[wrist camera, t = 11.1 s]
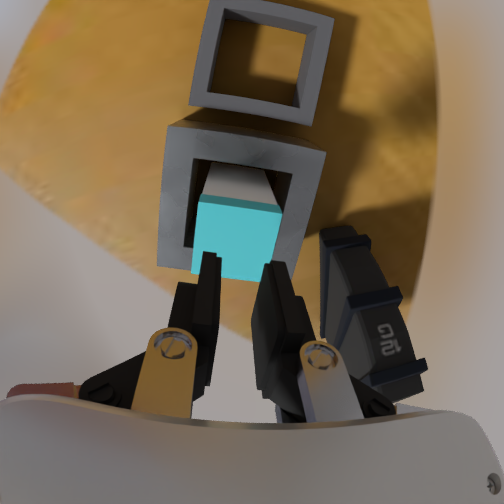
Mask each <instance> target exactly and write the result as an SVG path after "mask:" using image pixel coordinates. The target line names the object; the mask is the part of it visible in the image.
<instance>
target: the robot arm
mask: <svg viewBox="0 0 504 504" xmlns="http://www.w3.org/2000/svg"><path fill="white" fill-rule="evenodd" d="M221 271H222V257H217V253H215V252H207V251H203V254H202V260H201V266H200V272H199V279H198V284H192V283H185V282H178V285H177V289H176V293H175V297H174V302H173V306H172V310H171V315H170V319H169V324H168V328H164V329H161V330H159V331H156V332H155V333H154V334H153V335H152V336H151V338H150V340H149V343H148V346H147V350H146V351H145V352H143V353H141V354H139V355H137V356H135V357H133V358H131V359H129V360H127V361H125V362H123V363H121V364H119V365H116V366H114V367H112V368H110V369H108V370H106V371H104V372H101V373H99V374H97V375H95V376H93V377H91V378H89V379H88V380H86V381H85V382H84V383H83V384H82V385H74V383H73V382H68V383H42V384H19V385H16V386H14V387H13V388H11V389H10V391H9V392H8V394H7V397H6V399H4V400H1V401H0V504H504V473H503V470H502V468H501V465H500V463H499V461H498V458H497V456H496V454H495V451H494V449H493V447H492V445H491V443H490V441H489V440H488V438H487V436H486V434H485V432H484V431H483V429H482V428H481V426H480V425H479V424H478V422H477V421H476V420H475V419H473V418H472V417H470V416H468V415H465V414H463V413H459V412H454V411H446V410H431V409H425V408H420V407H415V406H409V405H404V404H400V403H396V404H395V405H393V404H392V402H391V401H390V400H389V399H388V398H386V397H385V396H383V395H382V394H380V393H379V392H377V391H375V390H374V389H372V388H371V387H369V386H367V385H366V384H364V383H363V382H361V381H359V380H358V379H356V378H355V377H353V376H352V375H350V374H348V372H347V369H346V367H345V364H344V361H343V359H342V356H341V354H340V353H339V351H338V350H337V349H336V348H335V347H333V346H332V345H330V344H328V343H325V342H322V341H316V338H315V335H314V332H313V328H312V325H311V322H310V318H309V315H308V312H307V309H306V306H305V302H304V299H303V297H302V296H295V293H294V290H293V286H292V283H291V279H290V276H289V272H288V269H287V266H286V263H285V262H283V261H276V260H271V261H270V263H265V264H264V268H263V272H262V276H261V280H260V284H259V288H258V292H257V297H256V301H255V305H254V309H253V313H252V318H251V328H252V340H253V351H254V363H255V374H256V385H257V389H258V390H262V396H263V398H264V399H270V400H271V401H273V402H274V403H275V404H276V405H275V412H276V418H277V423H241V422H240V423H239V422H224V421H223V422H222V421H210V420H199V419H191V416H192V406H193V401H195V400H196V399H198V398H200V397H201V396H202V395H204V388H205V386H210V382H211V375H212V369H213V362H214V356H215V350H216V344H217V337H218V330H219V319H220V293H221Z"/></svg>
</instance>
